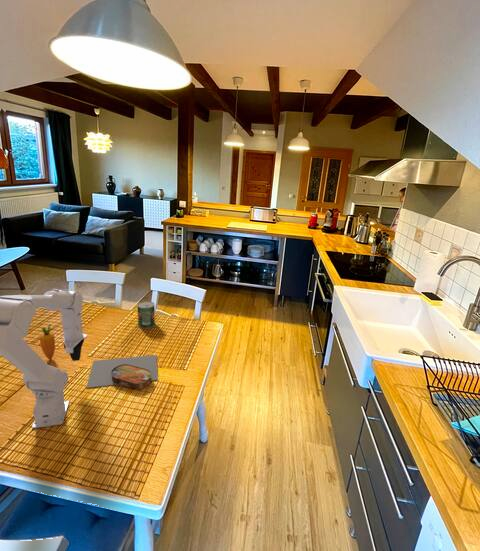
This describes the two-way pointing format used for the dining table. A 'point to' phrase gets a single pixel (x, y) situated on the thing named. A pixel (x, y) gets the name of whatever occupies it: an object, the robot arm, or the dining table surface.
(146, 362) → the mat
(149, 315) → the canned tomato
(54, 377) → the robot arm
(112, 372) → the tin
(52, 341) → the carrot
